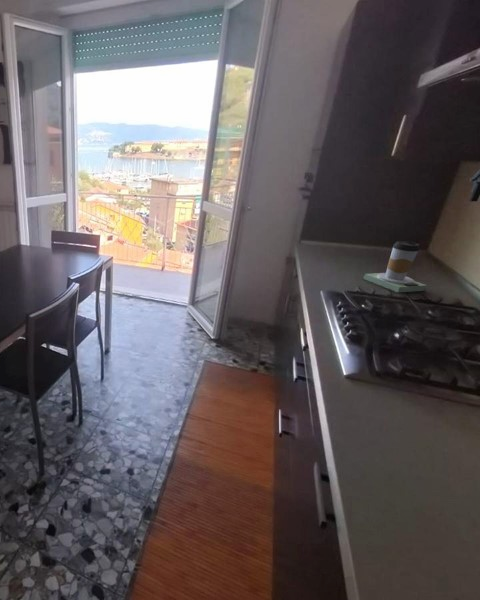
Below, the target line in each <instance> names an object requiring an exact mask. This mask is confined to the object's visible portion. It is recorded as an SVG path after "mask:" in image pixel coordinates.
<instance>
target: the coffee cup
mask: <svg viewBox="0 0 480 600" xmlns="http://www.w3.org/2000/svg"><path fill="white" fill-rule="evenodd" d="M419 251H420V244H419V243H418V242H417V243H416V242H413V241H407V240H396V242H395V243H394V244H393V246H392V249H391V254H390V257H389V259H388V263H387V267H386V272H385V273H386V277H388V278H390V279H395V280H403V279H404V278H405V276H406V277H407V275H408V272H409V271H410V269H411V267H412V265H413V263H414V260H415V258H416V257H417V254H418V252H419Z"/></svg>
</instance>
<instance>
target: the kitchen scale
mask: <svg viewBox="0 0 480 600" xmlns="http://www.w3.org/2000/svg"><path fill="white" fill-rule="evenodd" d="M363 280H365V281H367V282H370V283H372V284H375V285H378V286H380V287H383V288H385V289H386V290H387V289H388V290H390V291H392V292H395V293H397V294H399V293H412V292H425V291H426V289H427V287H428V285H427V284H424V283H421V282H418V281H416V280H414V279H413V278H412V277H409V276H407V275H406V276H405V278H404V279H403V280H395V279H390V278H388V277H386V272H374V273H365V274H364V276H363Z"/></svg>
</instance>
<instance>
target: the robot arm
mask: <svg viewBox="0 0 480 600" xmlns="http://www.w3.org/2000/svg"><path fill="white" fill-rule="evenodd" d="M469 181H470V182H472V183H473V187H472V188H471V193H472V194H471V196H470V198H469V202H478V200H479V199H480V169H479V170H478V171H477V172H476V173H475V174H474V175H473V176H472V177H470V179H469Z"/></svg>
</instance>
